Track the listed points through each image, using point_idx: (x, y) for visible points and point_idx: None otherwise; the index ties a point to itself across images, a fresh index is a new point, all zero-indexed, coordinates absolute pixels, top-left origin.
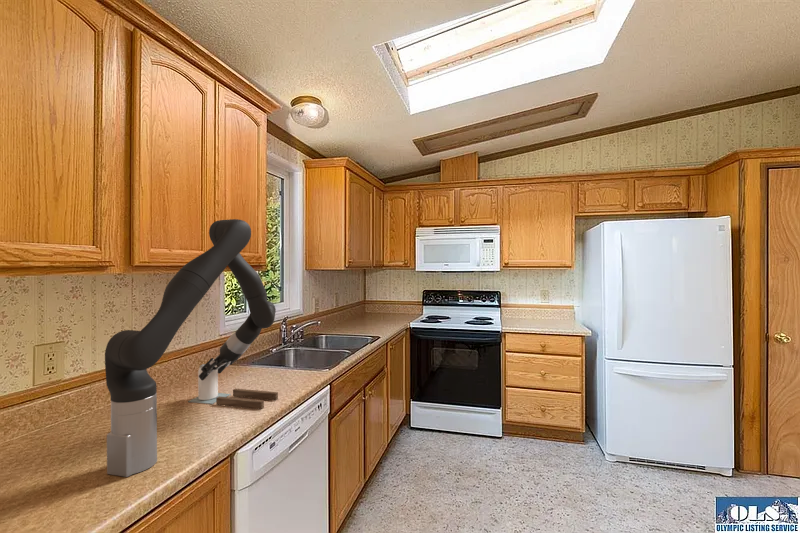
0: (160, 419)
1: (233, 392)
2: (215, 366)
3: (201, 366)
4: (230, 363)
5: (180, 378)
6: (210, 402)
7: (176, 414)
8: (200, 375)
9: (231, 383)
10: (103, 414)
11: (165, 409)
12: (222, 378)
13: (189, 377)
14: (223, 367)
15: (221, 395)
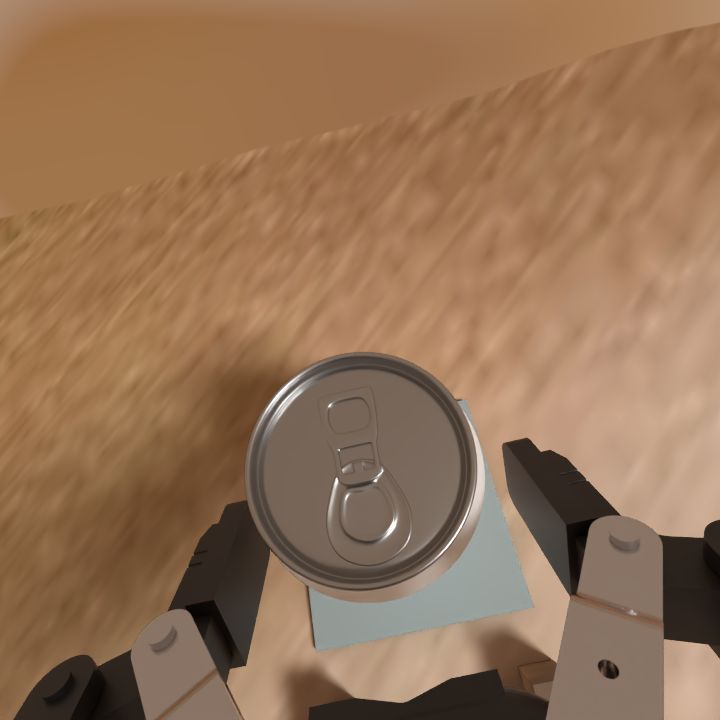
0: (41, 556)
1: (529, 684)
2: (411, 574)
3: (311, 391)
4: (713, 638)
5: (523, 82)
6: (328, 618)
7: (117, 574)
8: (197, 557)
9: (688, 368)
10: (73, 256)
11: (168, 432)
12: (695, 229)
13: (562, 95)
14: (561, 571)
15: (469, 559)
